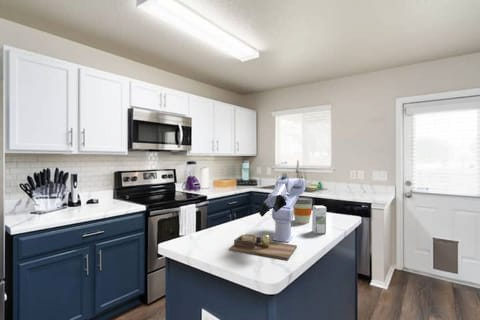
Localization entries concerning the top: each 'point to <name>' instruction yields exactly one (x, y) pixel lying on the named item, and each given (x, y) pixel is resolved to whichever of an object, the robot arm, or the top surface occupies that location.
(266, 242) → the cream block with stem
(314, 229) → the syrup box
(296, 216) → the reusable coffee cup
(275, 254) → the walnut lane shelf
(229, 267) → the top surface
